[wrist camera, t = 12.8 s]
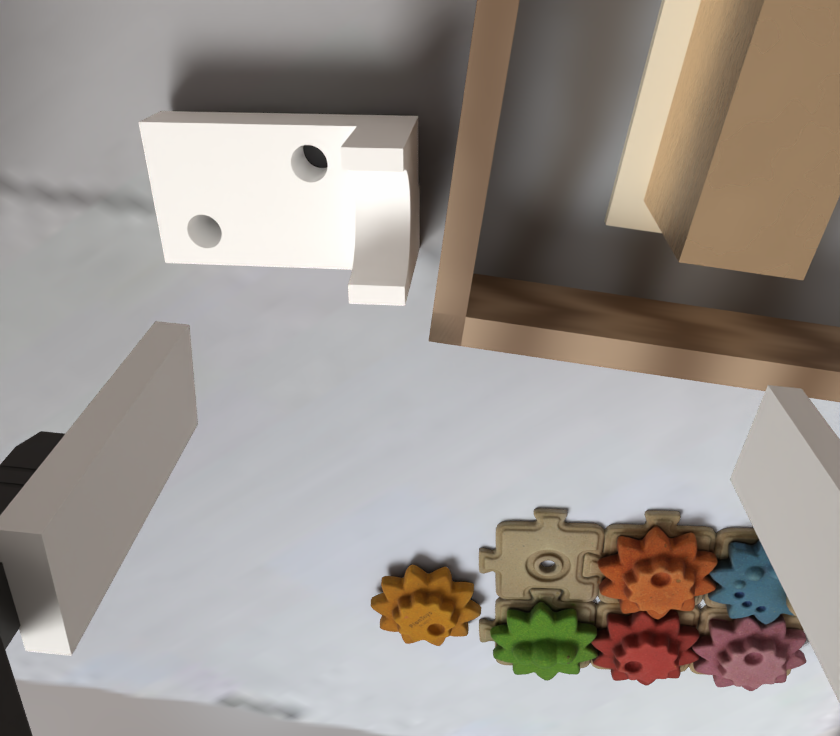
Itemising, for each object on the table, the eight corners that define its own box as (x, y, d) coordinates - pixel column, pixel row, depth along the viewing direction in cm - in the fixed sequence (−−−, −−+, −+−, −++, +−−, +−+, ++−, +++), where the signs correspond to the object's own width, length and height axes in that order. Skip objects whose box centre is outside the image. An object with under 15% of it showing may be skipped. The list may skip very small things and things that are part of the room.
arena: (437, 290, 40) (428, 341, 35) (516, -266, 28) (521, -312, 23) (863, 353, 40) (918, 413, 35) (1134, -184, 28) (1280, -212, 23)
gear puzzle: (380, 652, 58) (373, 698, 54) (363, 497, 49) (353, 539, 46) (787, 672, 54) (807, 722, 51) (840, 509, 46) (869, 555, 43)
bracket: (420, 112, 36) (403, 148, 29) (420, 246, 40) (404, 305, 33) (168, 107, 37) (98, 141, 30) (190, 239, 41) (131, 294, 34)
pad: (604, 221, 37) (605, 224, 36) (712, -193, 28) (716, -195, 28) (876, 260, 37) (882, 265, 36) (1070, -145, 28) (1081, -146, 28)
